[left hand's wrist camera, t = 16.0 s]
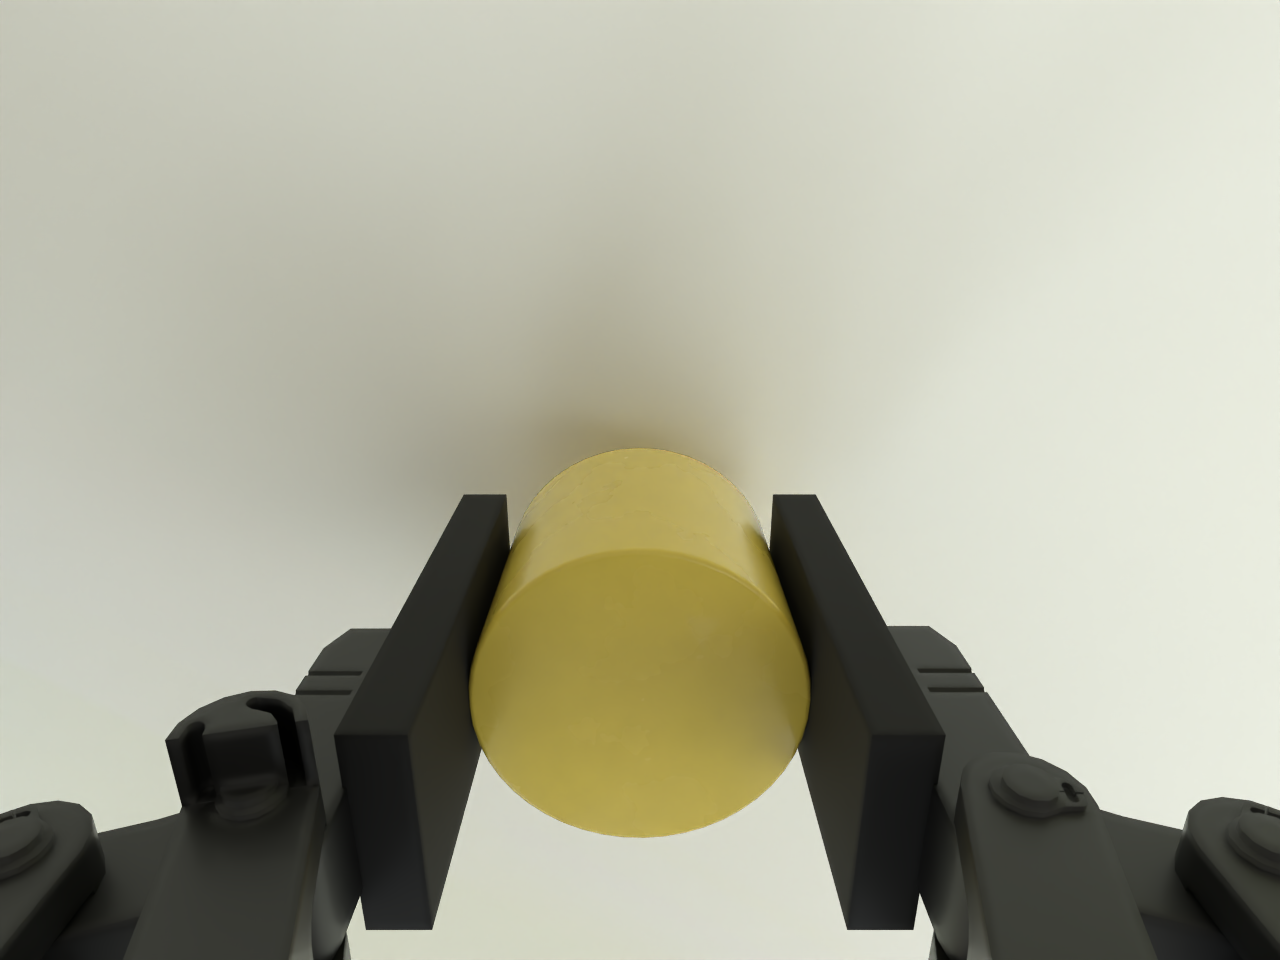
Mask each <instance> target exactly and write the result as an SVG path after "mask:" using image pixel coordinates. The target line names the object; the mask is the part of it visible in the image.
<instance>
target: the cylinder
mask: <svg viewBox="0 0 1280 960" xmlns="http://www.w3.org/2000/svg"><path fill="white" fill-rule="evenodd" d="M468 689H469V705H470V713H471V719H472V724H473V727H474V730H475V733H476V735H477V738H478V741H479V744H480V746H481V748H482V750H483V751H484V753H485V755H486V757H487V759H488V761H489V762H490V764H491V765H492V766H493V768H494V769H495V771H496V772H497V773H498V775H499V776H500V777H501V778H502V779H503V780H504V781H505V782H506V784H507V785H508V786H509V787H510V788H511V789H512V790H513V791H514V792H516V793H517V794H518V795H519V796H520V797H522V798H523V799H524V800H525V801H527V802H528V803H529V804H531V805H532V806H534V807H535V808H537V809H539V810H540V811H542V812H543V813H545V814H547V815H549V816H551V817H553V818H555V819H557V820H559V821H561V822H563V823H566V824H569V825H571V826H574V827H577V828H580V829H583V830H587V831H591V832H595V833H599V834H604V835H611V836H619V837H636V838H647V837H661V836H669V835H674V834H680V833H685V832H689V831H692V830H696V829H699V828H703V827H706V826H708V825H711V824H713V823H716V822H718V821H721V820H723V819H725V818H727V817H729V816H730V815H732V814H734V813H736V812H738V811H740V810H741V809H743V808H744V807H746V806H747V805H749V804H750V803H751V802H753V801H754V800H756V799H757V798H758V797H759V796H760V795H762V794H763V793H764V792H765V791H766V790H767V789H768V788H769V787H770V786H771V785H772V784H773V783H774V782H775V781H776V780H777V779H778V777H779V776H780V775H781V774H782V773H783V771H784V770H785V769H786V767H787V766H788V764H789V762H790V761H791V759H792V758H793V756H794V755H795V753H796V750H797V748H798V746H799V744H800V742H801V740H802V737H803V734H804V731H805V728H806V724H807V721H808V716H809V708H810V697H811V678H810V673H809V667H808V662H807V658H806V655H805V652H804V650H803V647H802V644H801V641H800V638H799V635H798V632H797V629H796V626H795V624H794V621H793V618H792V615H791V612H790V609H789V606H788V603H787V601H786V598H785V595H784V592H783V589H782V586H781V583H780V580H779V577H778V575H777V572H776V569H775V566H774V563H773V560H772V557H771V554H770V551H769V549H768V546H767V543H766V540H765V537H764V534H763V531H762V528H761V525H760V523H759V520H758V518H757V516H756V515H755V513H754V511H753V509H752V507H751V506H750V504H749V503H748V501H747V500H746V499H745V497H744V496H743V494H742V493H741V492H740V491H739V490H738V489H737V488H736V487H735V486H734V485H733V484H732V483H731V482H730V481H729V480H727V479H726V478H725V477H724V476H723V475H721V474H720V473H719V472H717V471H716V470H714V469H712V468H711V467H709V466H707V465H706V464H704V463H702V462H700V461H697V460H695V459H693V458H691V457H688V456H685V455H682V454H678V453H675V452H671V451H665V450H659V449H651V448H630V449H619V450H614V451H609V452H605V453H601V454H598V455H595V456H592V457H589V458H586V459H584V460H582V461H580V462H578V463H576V464H574V465H572V466H570V467H569V468H567V469H566V470H564V471H563V472H561V473H560V474H558V475H557V476H555V477H554V478H553V479H552V480H551V481H550V482H549V483H548V484H547V485H545V486H544V487H543V488H542V490H541V491H540V492H539V493H538V494H537V496H536V497H535V498H534V499H533V501H532V502H531V504H530V505H529V507H528V508H527V510H526V512H525V513H524V516H523V518H522V520H521V522H520V525H519V527H518V529H517V532H516V535H515V538H514V541H513V544H512V547H511V549H510V552H509V555H508V558H507V561H506V564H505V567H504V569H503V572H502V575H501V578H500V581H499V584H498V587H497V589H496V592H495V595H494V598H493V601H492V604H491V607H490V609H489V612H488V615H487V618H486V621H485V624H484V627H483V629H482V632H481V635H480V638H479V641H478V644H477V647H476V649H475V653H474V657H473V660H472V664H471V667H470V675H469V684H468Z"/></svg>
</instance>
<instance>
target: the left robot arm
mask: <svg viewBox="0 0 1280 960" xmlns="http://www.w3.org/2000/svg"><path fill="white" fill-rule="evenodd" d="M509 552H510V544H509V529H508V513H507V498H506V495H463V497H462V499H461V501H460V503H459V505H458V506H457V508H456V510H455V512H454V514H453V516H452V517H451V519H450V521H449V523H448V525H447V527H446V528H445V530H444V532H443V534H442V536H441V538H440V540H439V541H438V543H437V545H436V547H435V549H434V551H433V552H432V554H431V556H430V558H429V560H428V562H427V564H426V565H425V567H424V569H423V571H422V573H421V575H420V576H419V578H418V580H417V582H416V584H415V586H414V587H413V589H412V591H411V593H410V595H409V597H408V599H407V600H406V602H405V604H404V606H403V608H402V610H401V611H400V613H399V615H398V617H397V619H396V621H395V623H394V624H393V626H392V628H391V629H350V630H348V631H347V632H346V633H344V634H343V635H341V636H340V637H339V638H337V639H336V640H334V641H333V642H332V643H330V644H329V645H328V646H326V647H325V648H324V649H323V650H322V652H321V653H320V655H319V656H318V658H317V659H316V661H315V662H314V664H313V665H312V667H311V668H310V670H309V674H308V676H305V677H304V679H303V680H302V682H301V683H300V685H299V686H298V688H297V689H296V695H291V694H287V693H283V692H279V691H250V692H245V693H241V694H237V695H233V696H228V697H224V698H222V699H220V700H217V701H215V702H213V703H210V704H208V705H206V706H204V707H201V708H199V709H198V710H196V711H195V712H193V713H192V714H191V715H189V716H188V717H186V718H185V719H184V720H182V721H181V722H179V723H178V724H177V725H176V727H175V728H174V729H173V731H172V732H171V733H170V734H169V736H168V737H167V738H166V740H165V742H166V746H167V750H168V754H169V757H170V761H171V765H172V769H173V773H174V777H175V781H176V784H177V788H178V792H179V796H180V800H181V804H182V808H181V811H180V813H178V814H175V815H171V816H168V817H165V818H161V819H158V820H154V821H149V822H145V823H141V824H136V825H132V826H128V827H123V828H119V829H114V830H110V831H106V832H101V833H97V830H96V827H95V824H94V821H93V818H92V814H90V813H89V812H88V811H87V810H86V809H85V808H83V807H82V806H81V805H80V804H76V803H70V802H64V801H51V802H43V803H36V804H29V805H26V806H23V807H20V808H17V809H14V810H11V811H8V812H5V813H2V814H0V960H351V956H350V949H349V943H348V937H347V932H346V931H347V928H348V926H349V923H350V921H351V918H352V915H353V913H354V910H355V908H356V905H357V902H358V900H359V897H361V903H362V909H363V915H364V921H365V927H366V930H432V928H433V925H434V921H435V917H436V914H437V910H438V906H439V903H440V899H441V895H442V892H443V888H444V884H445V881H446V877H447V873H448V870H449V866H450V862H451V859H452V855H453V851H454V848H455V844H456V840H457V837H458V833H459V829H460V826H461V822H462V818H463V815H464V811H465V807H466V804H467V800H468V797H469V793H470V789H471V786H472V782H473V778H474V775H475V771H476V767H477V764H478V760H479V756H480V753H481V749H482V748H481V746H480V744H479V741H478V738H477V735H476V733H475V730H474V727H473V724H472V719H471V713H470V705H469V689H468V684H469V675H470V667H471V664H472V660H473V657H474V653H475V649H476V647H477V644H478V641H479V638H480V635H481V632H482V629H483V627H484V624H485V621H486V618H487V615H488V612H489V609H490V607H491V604H492V601H493V598H494V595H495V592H496V589H497V587H498V584H499V581H500V578H501V575H502V572H503V569H504V567H505V564H506V561H507V558H508V555H509ZM770 554H771V557H772V560H773V563H774V566H775V569H776V572H777V575H778V577H779V580H780V583H781V586H782V589H783V592H784V595H785V598H786V601H787V603H788V606H789V609H790V612H791V615H792V618H793V621H794V624H795V626H796V629H797V632H798V635H799V638H800V641H801V644H802V647H803V650H804V652H805V655H806V658H807V662H808V667H809V673H810V678H811V697H810V708H809V716H808V721H807V724H806V728H805V731H804V734H803V737H802V740H801V742H800V744H799V746H798V751H799V755H800V758H801V762H802V766H803V769H804V773H805V777H806V780H807V784H808V788H809V791H810V795H811V799H812V802H813V806H814V810H815V813H816V817H817V821H818V824H819V828H820V832H821V835H822V839H823V843H824V846H825V850H826V854H827V857H828V861H829V864H830V868H831V872H832V875H833V879H834V883H835V886H836V890H837V894H838V897H839V901H840V905H841V908H842V912H843V916H844V919H845V923H846V927H847V930H913V929H914V923H915V917H916V911H917V905H918V899H919V893H920V895H921V897H922V900H923V903H924V905H925V908H926V910H927V913H928V915H929V918H930V921H931V923H932V926H933V928H934V932H933V937H932V943H931V949H930V954H929V960H1280V810H1277V809H1274V808H1271V807H1269V806H1265V805H1262V804H1259V803H1256V802H1253V801H1249V800H1241V799H1233V798H1225V797H1220V798H1214V799H1208V800H1202V801H1200V802H1199V803H1197V804H1196V805H1195V806H1194V807H1193V808H1192V809H1190V810H1189V812H1188V815H1187V818H1186V821H1185V825H1184V828H1183V830H1180V829H1176V828H1172V827H1167V826H1163V825H1158V824H1154V823H1149V822H1145V821H1141V820H1136V819H1132V818H1127V817H1123V816H1120V815H1116V814H1113V813H1110V812H1106V811H1103V810H1100V809H1099V807H1098V805H1097V803H1096V802H1095V800H1094V799H1093V797H1092V796H1091V794H1090V793H1089V791H1088V790H1087V788H1086V787H1085V786H1084V785H1082V784H1081V783H1080V782H1079V781H1077V780H1076V779H1075V778H1074V777H1073V776H1071V775H1070V774H1069V773H1068V772H1066V771H1064V770H1062V769H1060V768H1058V767H1056V766H1054V765H1052V764H1050V763H1048V762H1046V761H1044V760H1042V759H1039V758H1035V757H1031V756H1029V754H1028V753H1027V751H1026V750H1025V748H1024V747H1023V745H1022V744H1021V742H1020V741H1019V739H1018V738H1017V736H1016V735H1015V733H1014V732H1013V730H1012V729H1011V727H1010V726H1009V724H1008V723H1007V721H1006V720H1005V718H1004V717H1003V715H1002V714H1001V712H1000V711H999V709H998V708H997V706H996V705H995V703H994V702H993V700H992V699H991V697H990V696H989V694H988V693H987V692H984V687H983V685H982V684H981V682H980V681H979V679H978V678H977V676H976V675H975V673H972V672H971V667H970V666H969V664H968V663H967V661H966V660H965V658H964V657H963V655H962V654H961V652H960V651H959V649H958V648H957V646H956V645H954V644H953V643H952V642H950V641H949V640H947V639H946V638H945V637H943V636H942V635H941V634H939V633H938V632H936V631H935V630H934V629H932V628H931V627H929V626H887V625H886V624H885V622H884V620H883V618H882V616H881V614H880V613H879V611H878V609H877V607H876V605H875V603H874V602H873V600H872V598H871V596H870V594H869V592H868V590H867V589H866V587H865V585H864V583H863V581H862V579H861V578H860V576H859V574H858V572H857V570H856V568H855V566H854V565H853V563H852V561H851V559H850V557H849V555H848V554H847V552H846V550H845V548H844V546H843V544H842V542H841V541H840V539H839V537H838V535H837V533H836V531H835V530H834V528H833V526H832V524H831V522H830V520H829V519H828V517H827V515H826V513H825V511H824V509H823V507H822V506H821V504H820V502H819V500H818V498H817V496H816V495H773V504H772V520H771V536H770Z"/></svg>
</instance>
